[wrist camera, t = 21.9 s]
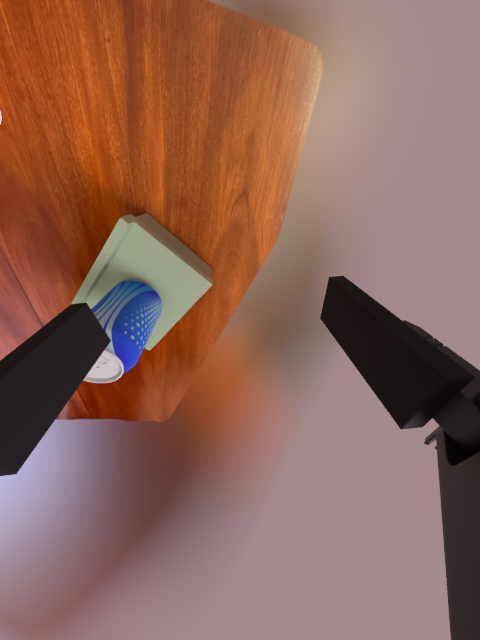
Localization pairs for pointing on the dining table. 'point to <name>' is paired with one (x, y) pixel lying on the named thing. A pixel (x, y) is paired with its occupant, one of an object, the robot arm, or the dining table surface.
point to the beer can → (124, 327)
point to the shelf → (148, 270)
